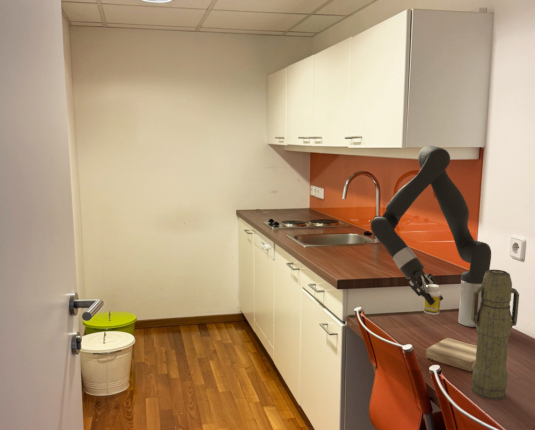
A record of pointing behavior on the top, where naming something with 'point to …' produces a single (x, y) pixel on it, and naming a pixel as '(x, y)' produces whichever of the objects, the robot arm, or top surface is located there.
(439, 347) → the base board
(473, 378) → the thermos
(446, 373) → the top surface
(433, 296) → the supplement bottle
